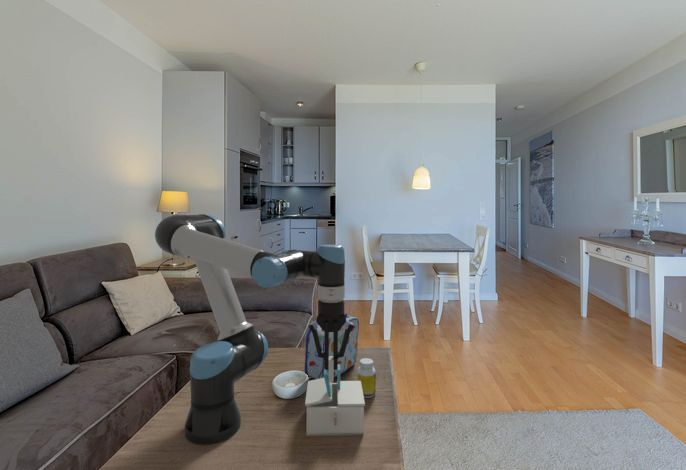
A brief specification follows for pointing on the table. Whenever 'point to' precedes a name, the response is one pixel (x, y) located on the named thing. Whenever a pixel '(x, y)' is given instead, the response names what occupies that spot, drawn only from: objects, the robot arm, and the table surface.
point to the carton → (334, 418)
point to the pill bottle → (367, 377)
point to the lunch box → (331, 350)
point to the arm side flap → (319, 391)
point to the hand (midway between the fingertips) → (330, 379)
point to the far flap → (349, 392)
